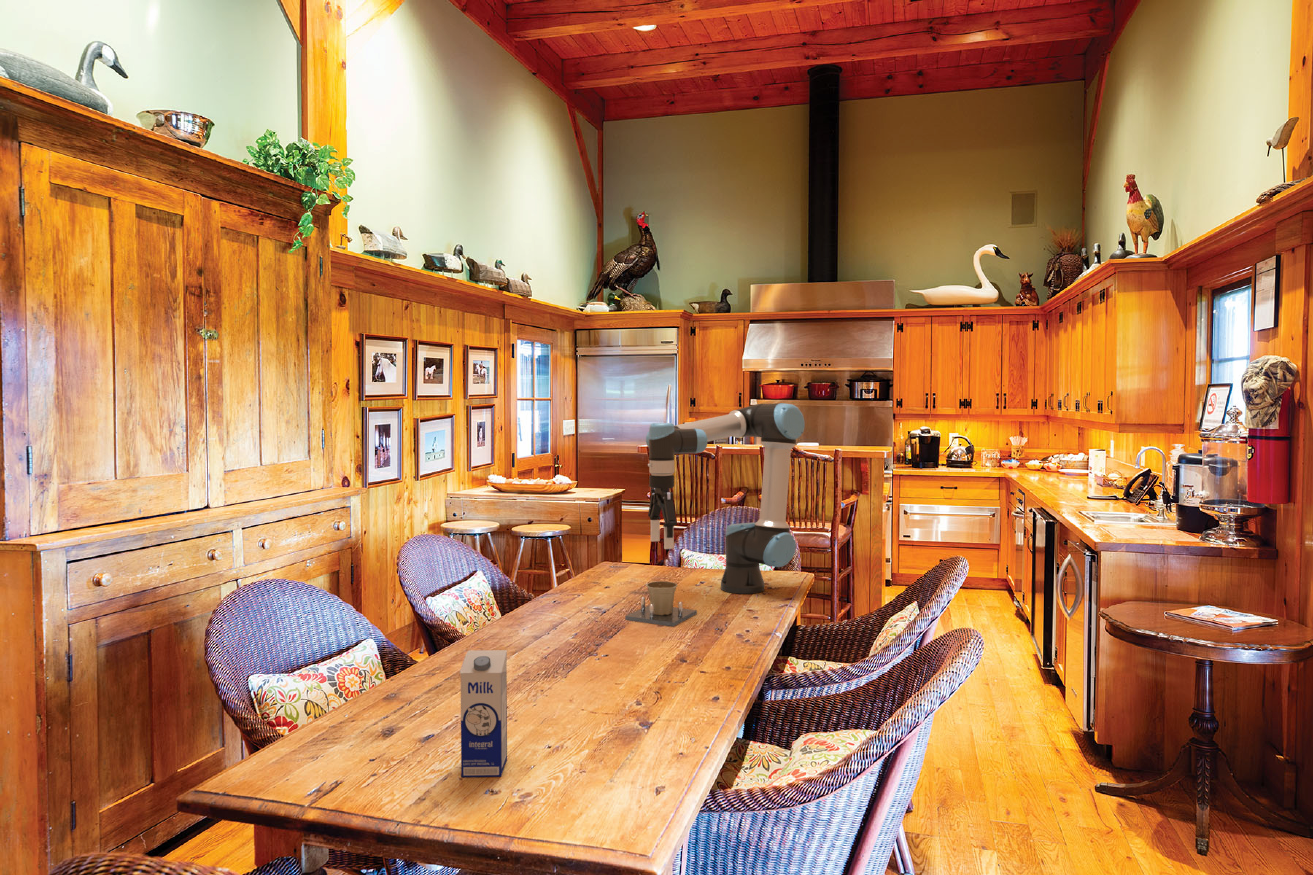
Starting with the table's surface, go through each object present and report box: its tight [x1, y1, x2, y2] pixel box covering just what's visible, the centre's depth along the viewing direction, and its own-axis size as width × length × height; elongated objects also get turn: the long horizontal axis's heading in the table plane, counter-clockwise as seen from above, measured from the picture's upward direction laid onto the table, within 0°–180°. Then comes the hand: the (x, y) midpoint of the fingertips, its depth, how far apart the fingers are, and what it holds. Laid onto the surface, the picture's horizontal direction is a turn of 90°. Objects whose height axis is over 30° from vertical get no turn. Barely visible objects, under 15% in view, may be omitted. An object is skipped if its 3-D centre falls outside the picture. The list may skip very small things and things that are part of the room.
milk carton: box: [459, 649, 508, 778], centre depth 138 cm, size 7×7×20 cm
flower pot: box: [645, 580, 678, 615], centre depth 239 cm, size 9×9×9 cm
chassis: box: [624, 596, 698, 628], centre depth 239 cm, size 16×16×5 cm
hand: (661, 544), depth 239 cm, fingers open, 13 cm apart
